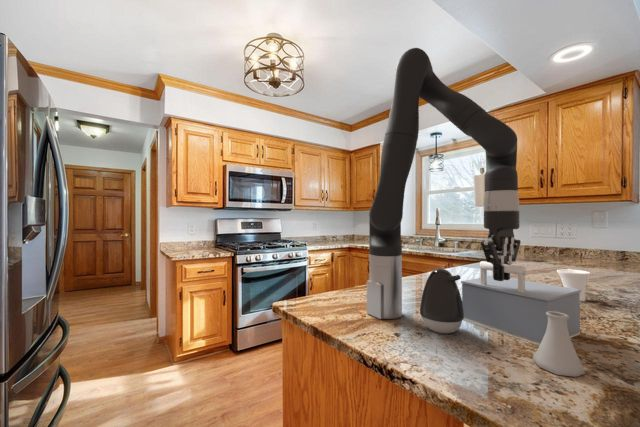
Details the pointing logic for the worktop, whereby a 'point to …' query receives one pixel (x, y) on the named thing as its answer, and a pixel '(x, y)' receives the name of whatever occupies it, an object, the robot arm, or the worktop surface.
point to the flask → (558, 348)
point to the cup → (574, 280)
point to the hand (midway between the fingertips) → (501, 279)
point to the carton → (517, 312)
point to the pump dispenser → (441, 302)
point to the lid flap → (519, 284)
